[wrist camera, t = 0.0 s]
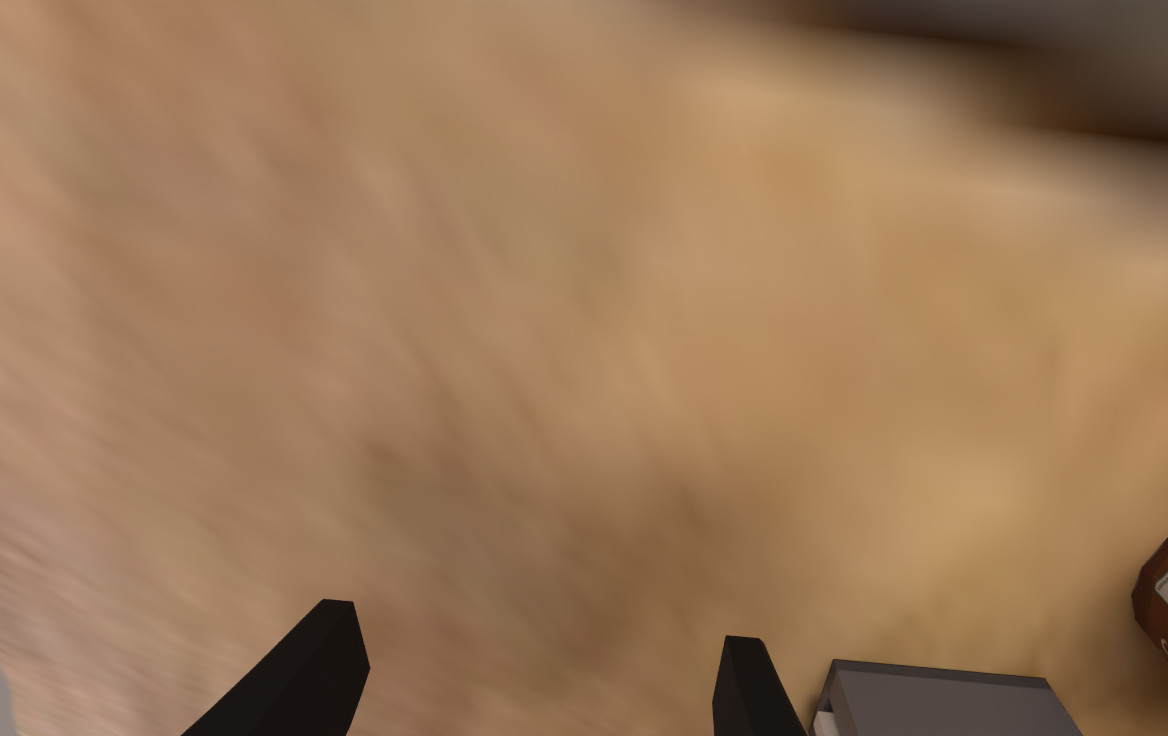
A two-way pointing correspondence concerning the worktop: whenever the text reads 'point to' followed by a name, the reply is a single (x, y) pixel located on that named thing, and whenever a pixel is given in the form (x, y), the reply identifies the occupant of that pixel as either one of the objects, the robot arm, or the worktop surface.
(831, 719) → the beige flat plate
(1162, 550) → the food container
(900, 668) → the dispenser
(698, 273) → the worktop surface
